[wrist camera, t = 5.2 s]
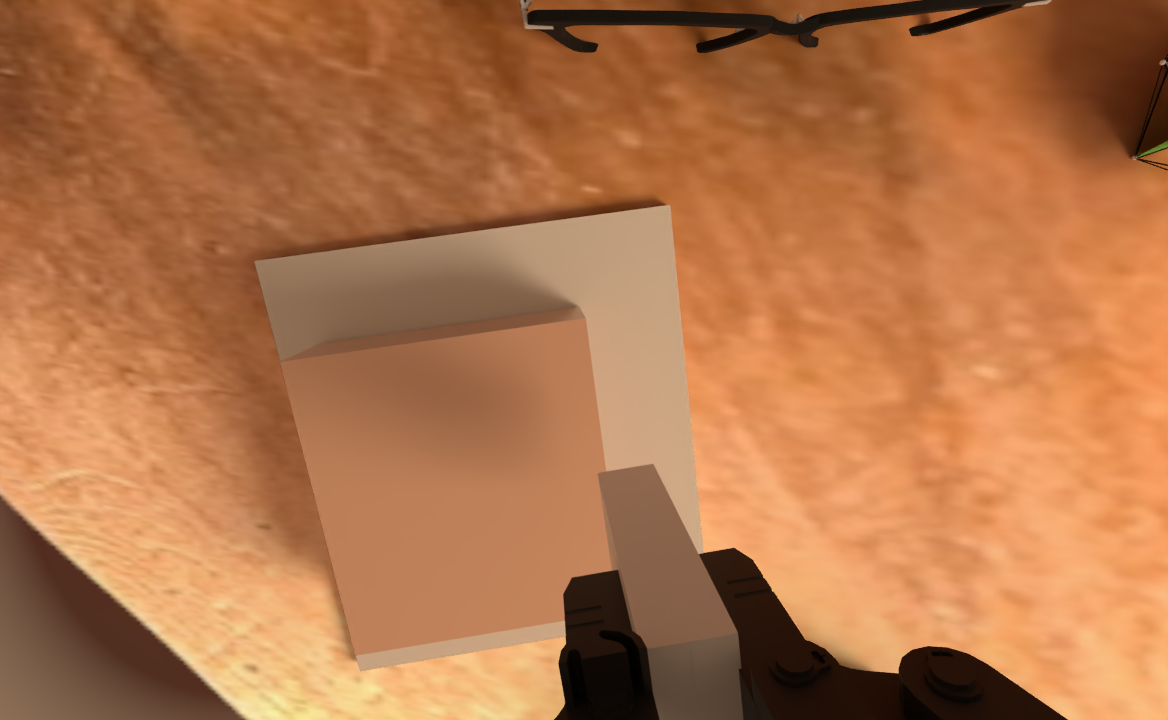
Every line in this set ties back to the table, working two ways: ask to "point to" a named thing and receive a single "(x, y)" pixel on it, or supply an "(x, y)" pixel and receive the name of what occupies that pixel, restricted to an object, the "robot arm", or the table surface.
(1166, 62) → the geometric puzzle
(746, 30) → the eyeglasses
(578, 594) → the robot arm
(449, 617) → the block
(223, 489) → the table surface
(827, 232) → the table surface
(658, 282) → the mat
